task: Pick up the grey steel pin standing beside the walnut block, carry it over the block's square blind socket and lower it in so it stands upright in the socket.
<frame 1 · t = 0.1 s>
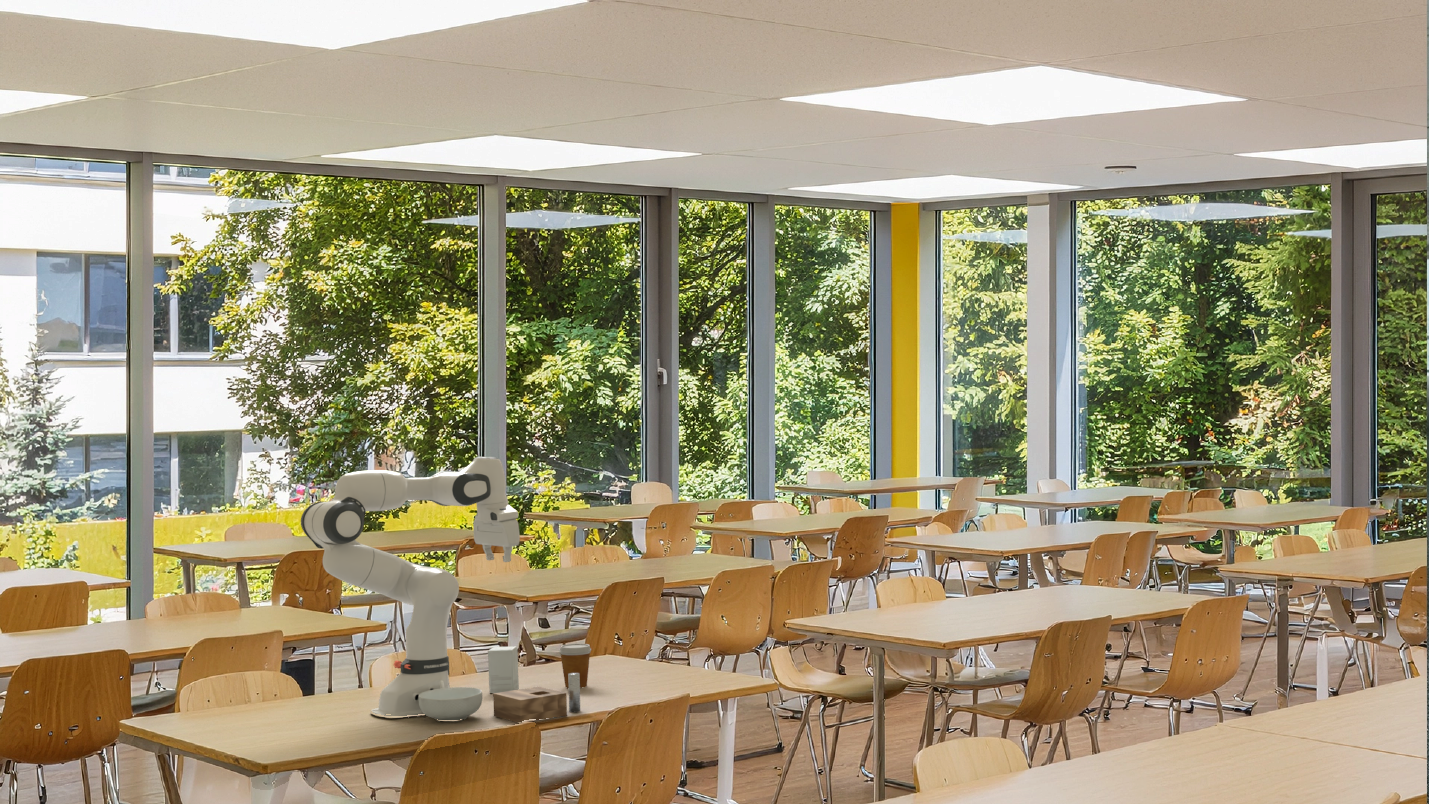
hand: (498, 560, 421), 39 cm above the table, tool pointing down, fingers open, 8 cm apart
socket block: (530, 716, 392), on the table
cereal bowl: (451, 720, 391), on the table
disposable coffee cup: (576, 687, 435), on the table
supplement box: (504, 692, 431), on the table
pin: (574, 711, 397), on the table
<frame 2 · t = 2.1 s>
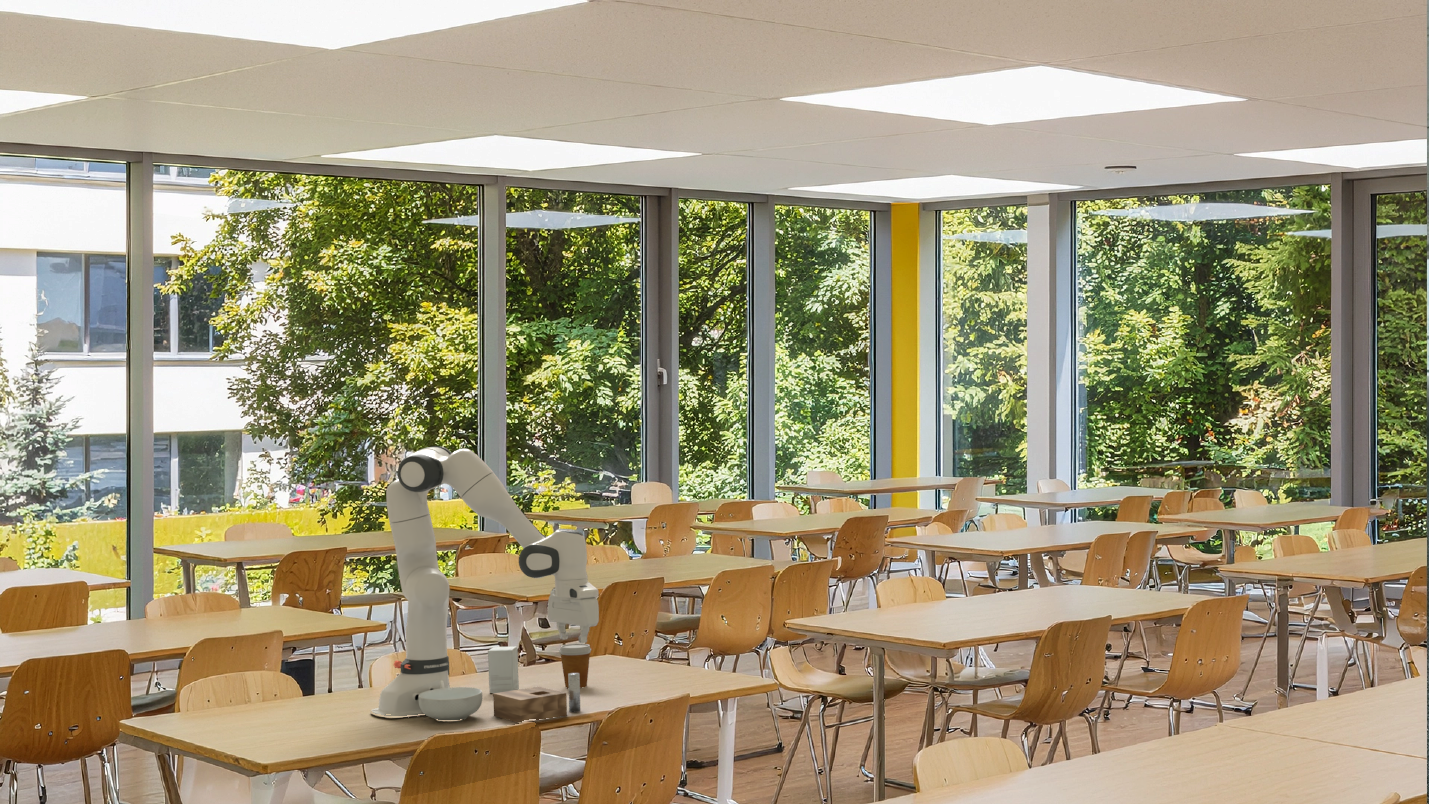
hand: (573, 640, 398), 19 cm above the table, tool pointing down, fingers open, 8 cm apart
nothing on the table moved.
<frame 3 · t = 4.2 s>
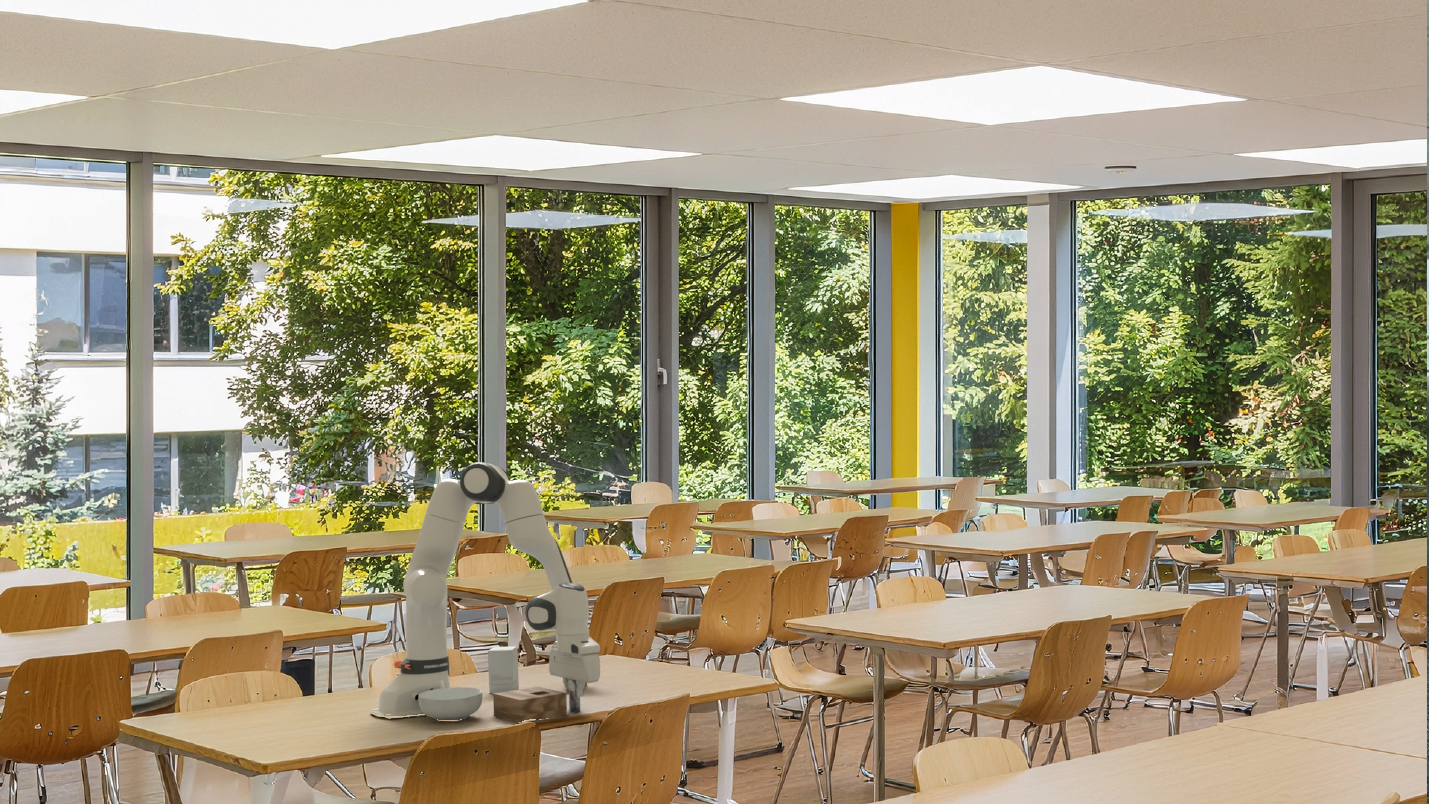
hand: (574, 695, 397), 4 cm above the table, tool pointing down, fingers closed on pin, 3 cm apart
pin: (574, 711, 397), on the table, touching gripper
everything else where it was.
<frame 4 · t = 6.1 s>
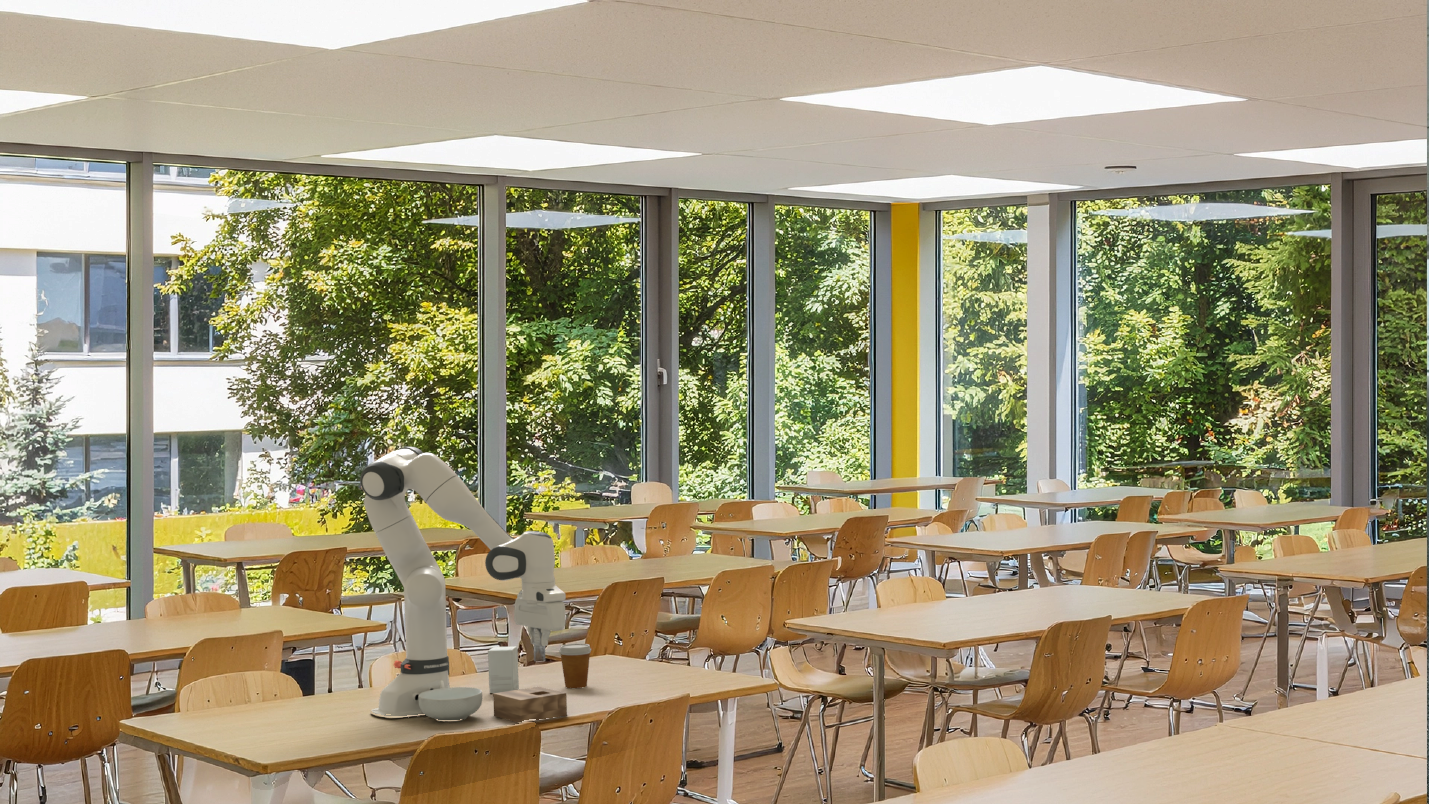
hand: (539, 644, 393), 19 cm above the table, tool pointing down, fingers closed on pin, 3 cm apart
pin: (539, 660, 393), point 15 cm above the table, touching gripper
everything else where it was.
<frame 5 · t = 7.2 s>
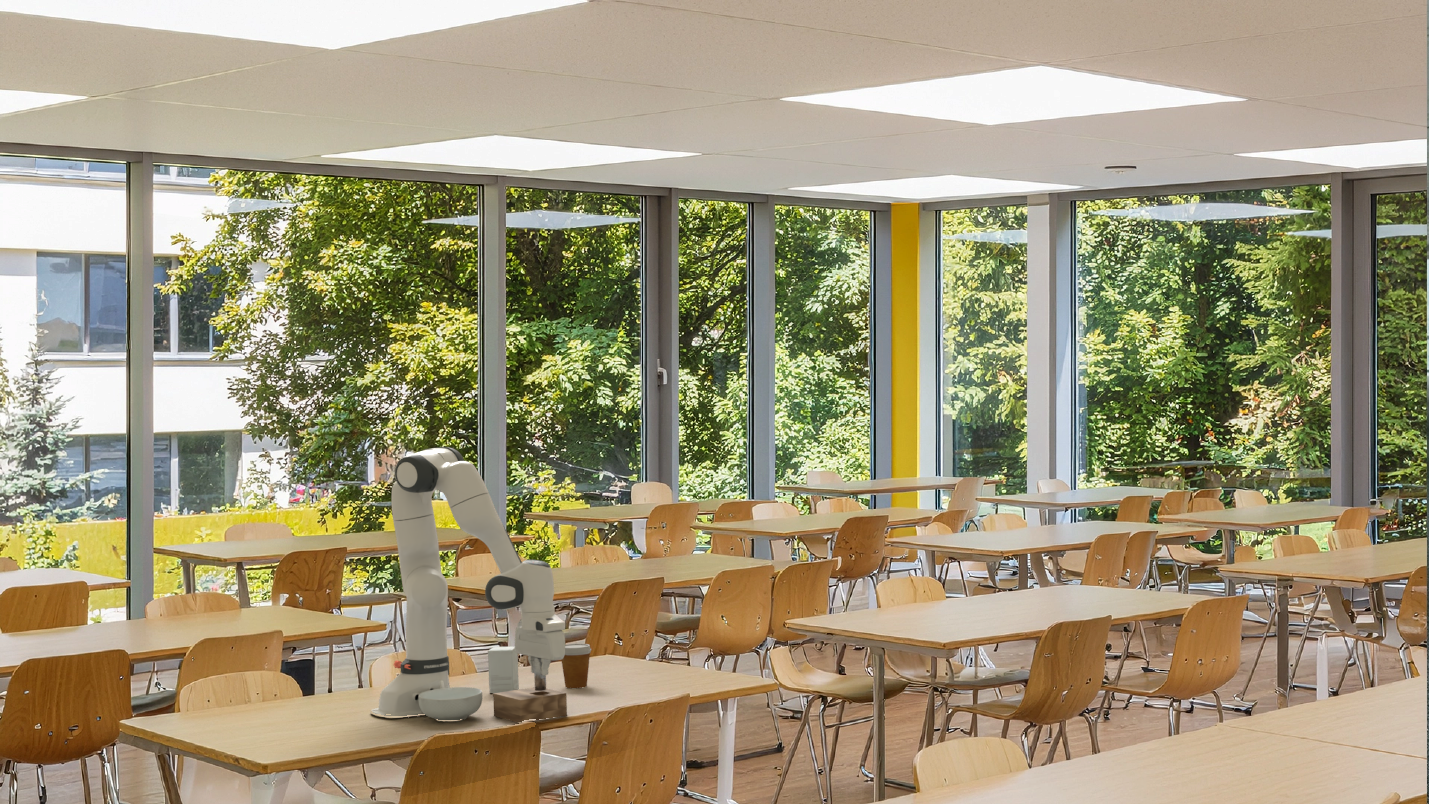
hand: (539, 674, 392), 11 cm above the table, tool pointing down, fingers closed on pin, 3 cm apart
pin: (540, 689, 392), point 7 cm above the table, touching gripper
everything else where it was.
when the fingers open (8 cm above the table, at t = 8.1 s): pin drops 1 cm, resting on socket block.
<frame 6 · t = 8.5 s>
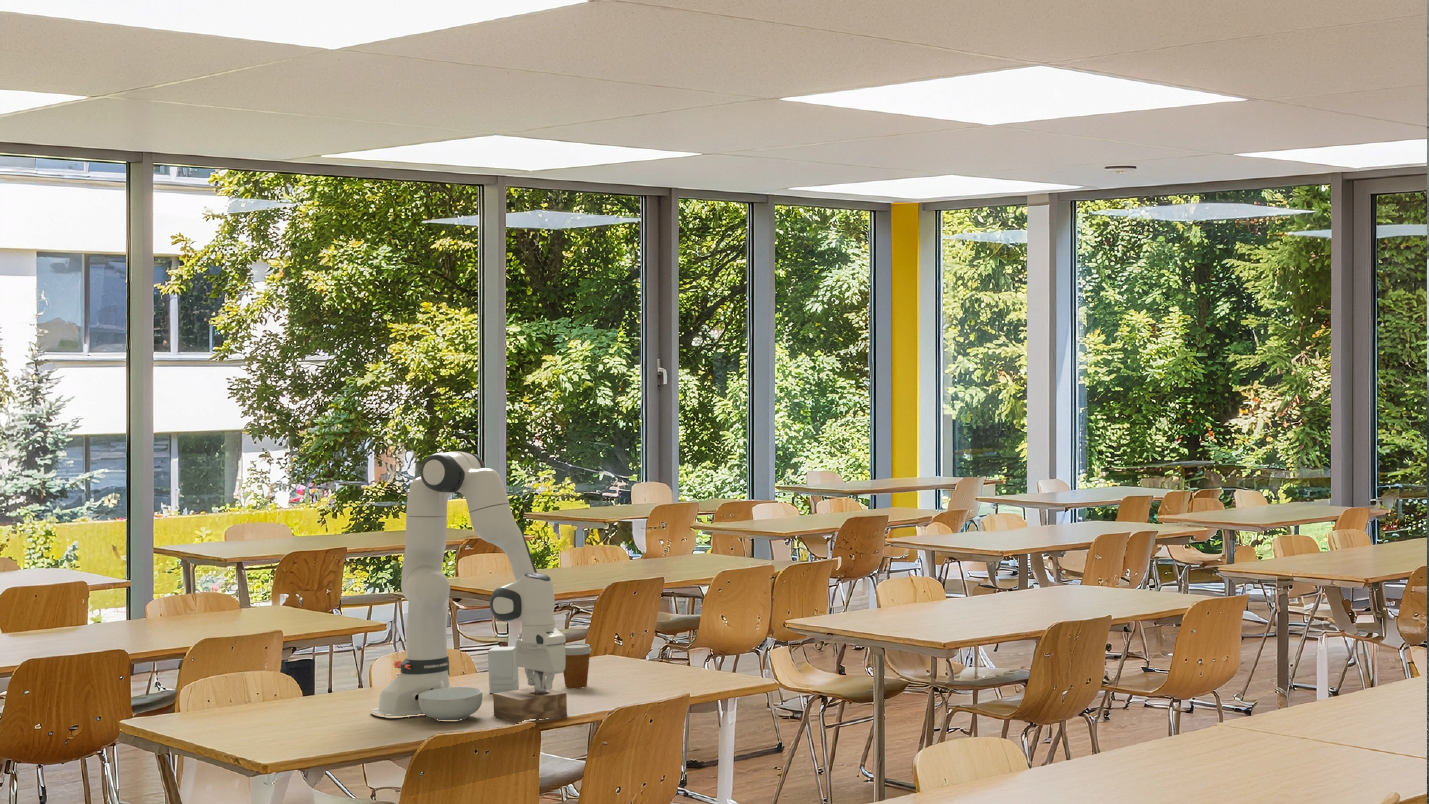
hand: (539, 687, 392), 8 cm above the table, tool pointing down, fingers open, 7 cm apart
pin: (540, 708, 392), point 2 cm above the table, touching socket block
everything else where it was.
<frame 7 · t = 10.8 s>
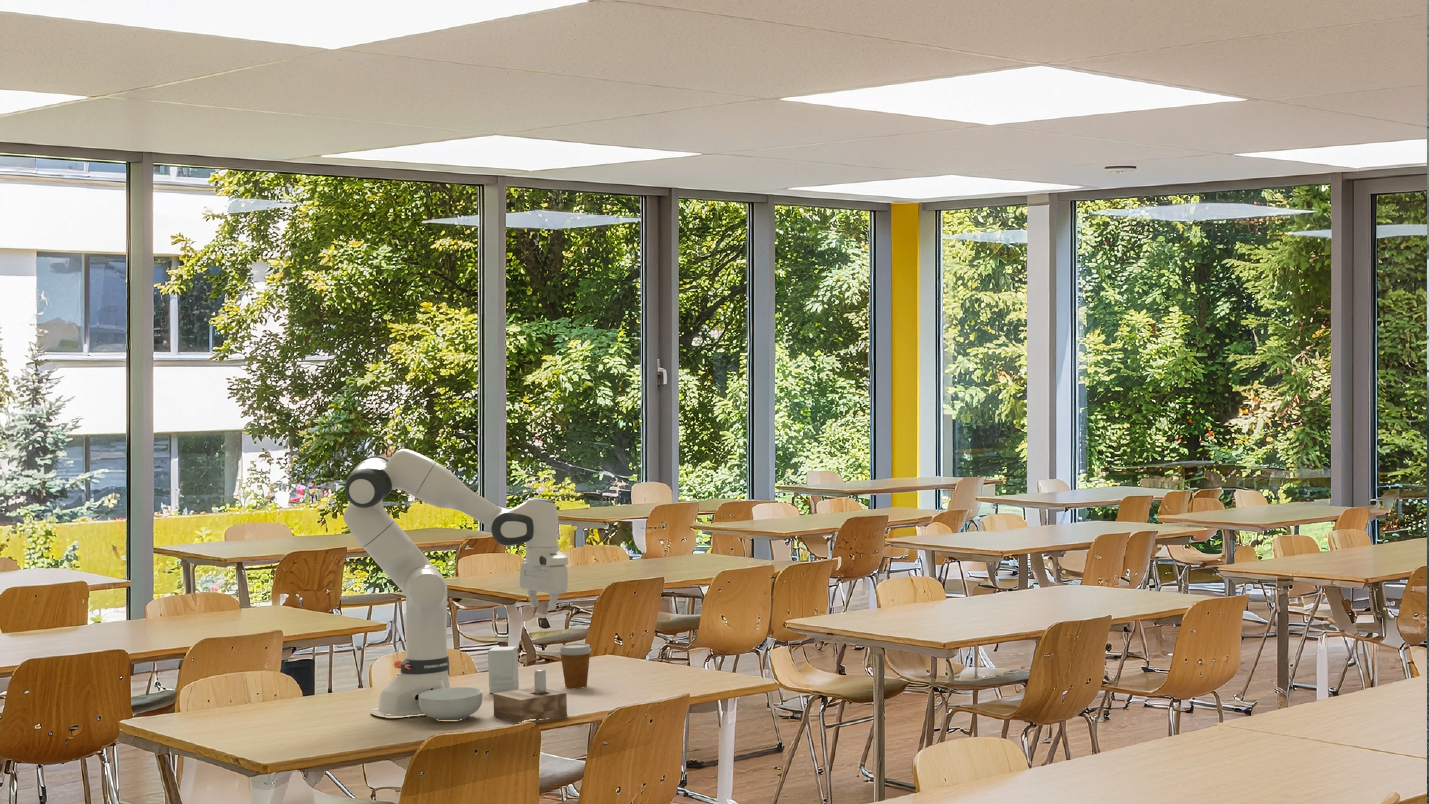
hand: (543, 608, 403), 27 cm above the table, tool pointing down, fingers open, 8 cm apart
nothing on the table moved.
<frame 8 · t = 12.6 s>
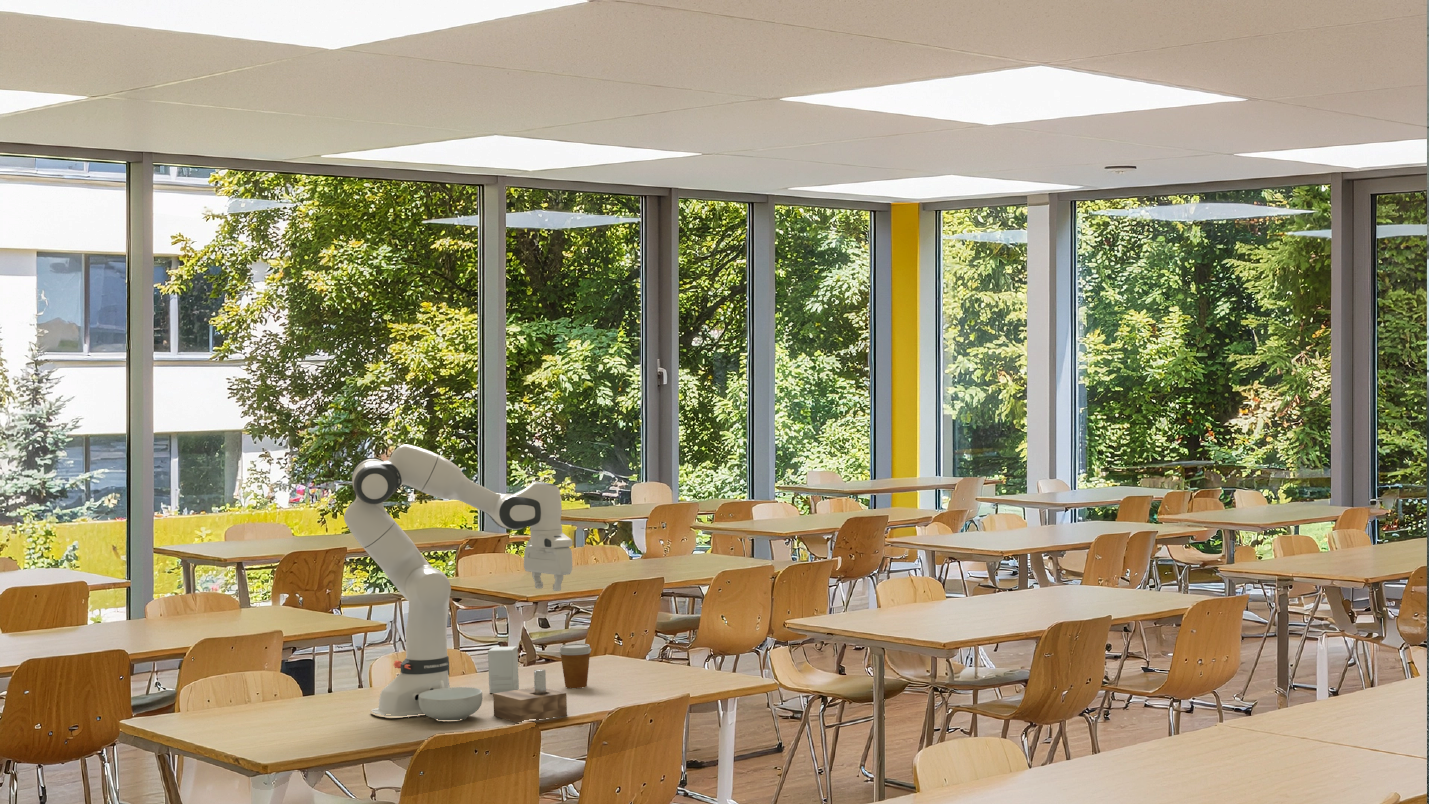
hand: (547, 589, 413), 31 cm above the table, tool pointing down, fingers open, 8 cm apart
nothing on the table moved.
at the end: pin 0.1 cm from the target spot on the socket block, point 2.0 cm above the socket block's base; pin tilted 0°; the gripper is holding nothing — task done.
